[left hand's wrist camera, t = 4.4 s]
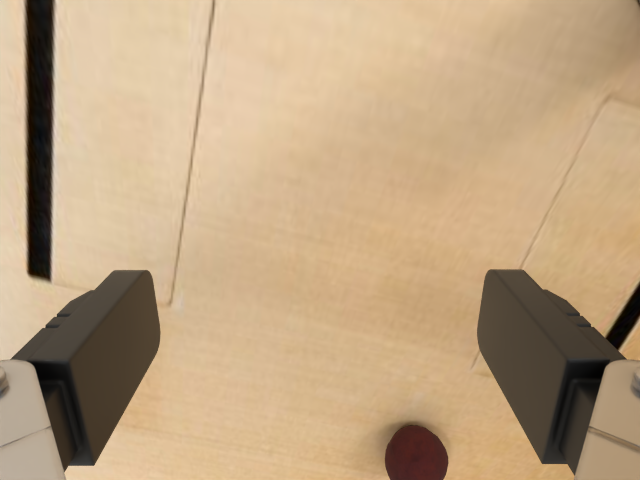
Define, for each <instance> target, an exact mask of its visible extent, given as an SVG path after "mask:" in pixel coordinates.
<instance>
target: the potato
mask: <svg viewBox="0 0 640 480" xmlns="http://www.w3.org/2000/svg"><path fill="white" fill-rule="evenodd" d="M385 466H386V470H387V473H388V476H389V478H390V480H443V479H444V477H445V475H446V472H447V467H448V455H447V452H446V449H445V447H444V446H443V444H442V442H441V441H440V439H439V438H438V437H437V436H436V435H434V434H433V433H432V432H430V431H429V430H427V429H426V428H424V427H420V426H407V427H404V428H401V429H400V430H399V431H398V432H396V433H395V435H394V436H393V437H392V439H391V441H390V442H389V444H388V446H387V449H386V454H385Z"/></svg>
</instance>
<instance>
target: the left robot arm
mask: <svg viewBox="0 0 640 480" xmlns="http://www.w3.org/2000/svg"><path fill="white" fill-rule="evenodd" d="M638 1H639V3H640V0H638ZM477 337H478V344H479V348H480V351H481V353H482V355H483V357H484V359H485V361H486V363H487V364H488V366H489V368H490V370H491V372H492V374H493V375H494V377H495V379H496V381H497V383H498V384H499V386H500V388H501V390H502V392H503V394H504V395H505V397H506V399H507V401H508V403H509V404H510V406H511V408H512V410H513V412H514V414H515V415H516V417H517V419H518V421H519V423H520V424H521V426H522V428H523V430H524V432H525V433H526V435H527V437H528V439H529V441H530V443H531V444H532V446H533V448H534V450H535V452H536V453H537V455H538V457H539V459H540V461H541V463H542V464H568V466H569V467H570V469H571V470H572V472H573V474H574V475H575V477H574V480H640V361H639V360H627V359H626V358H625V357H624V356H623V355H622V354H621V353H620V352H619V351H618V350H617V349H616V348H615V347H614V346H613V345H612V344H611V343H609V342H608V341H607V340H606V339H605V338H604V337H603V336H602V335H601V334H600V333H599V332H598V331H597V330H596V329H595V328H594V327H591V324H590V323H589V322H588V321H587V320H586V319H585V318H584V317H583V316H580V313H579V312H578V311H577V310H576V309H575V308H574V307H573V306H572V305H571V304H570V303H568V302H567V301H566V300H564V299H563V298H561V297H559V296H557V295H555V294H553V293H552V292H550V291H548V290H543V289H542V288H541V287H540V286H539V285H538V284H537V283H536V282H535V281H534V280H533V279H532V278H531V277H530V276H529V275H528V274H527V273H526V272H525V271H524V270H489V271H488V272H487V274H486V276H485V280H484V287H483V293H482V300H481V307H480V314H479V320H478V328H477ZM159 343H160V324H159V317H158V311H157V304H156V297H155V291H154V284H153V279H152V276H151V274H150V272H149V271H148V270H115V271H113V272H112V273H111V274H110V275H109V276H108V277H107V278H106V279H105V280H104V281H103V282H102V283H101V284H100V285H99V286H98V287H97V288H96V289H95V290H91V291H89V292H87V293H85V294H83V295H81V296H79V297H78V298H76V299H74V300H72V301H70V302H69V303H68V304H67V305H66V306H65V307H64V308H63V309H62V310H61V311H60V312H59V313H58V314H57V317H54V318H53V319H52V320H51V321H50V322H49V323H48V324H46V328H42V329H41V330H40V331H39V332H38V333H37V334H36V335H35V336H34V337H33V338H32V339H31V340H30V341H29V342H28V343H27V344H26V345H25V346H24V347H23V348H22V349H21V350H20V351H19V352H18V353H17V354H15V355H14V356H13V357H12V358H11V359H10V360H1V361H0V480H66V477H65V474H64V472H65V470H66V469H67V467H68V466H94V465H95V463H96V461H97V459H98V458H99V456H100V454H101V452H102V450H103V449H104V447H105V445H106V443H107V442H108V440H109V438H110V436H111V434H112V433H113V431H114V429H115V427H116V425H117V424H118V422H119V420H120V418H121V416H122V415H123V413H124V411H125V409H126V407H127V406H128V404H129V402H130V400H131V398H132V397H133V395H134V393H135V391H136V389H137V388H138V386H139V384H140V382H141V380H142V379H143V377H144V375H145V373H146V372H147V370H148V368H149V366H150V364H151V363H152V361H153V359H154V357H155V355H156V353H157V351H158V347H159Z"/></svg>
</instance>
